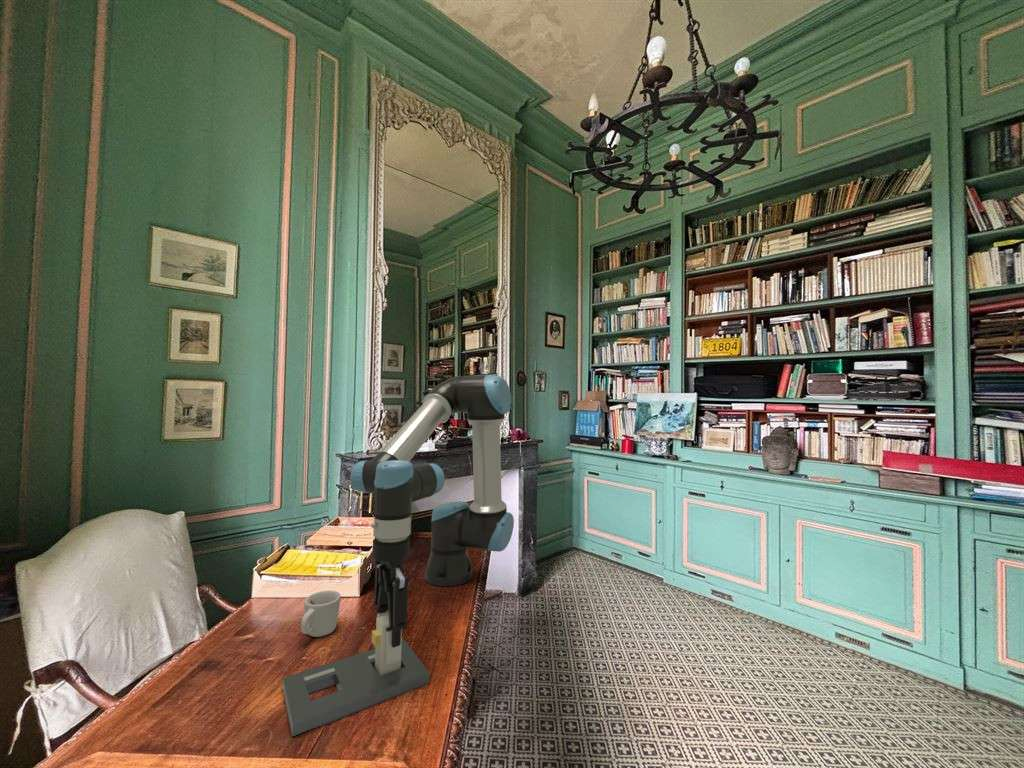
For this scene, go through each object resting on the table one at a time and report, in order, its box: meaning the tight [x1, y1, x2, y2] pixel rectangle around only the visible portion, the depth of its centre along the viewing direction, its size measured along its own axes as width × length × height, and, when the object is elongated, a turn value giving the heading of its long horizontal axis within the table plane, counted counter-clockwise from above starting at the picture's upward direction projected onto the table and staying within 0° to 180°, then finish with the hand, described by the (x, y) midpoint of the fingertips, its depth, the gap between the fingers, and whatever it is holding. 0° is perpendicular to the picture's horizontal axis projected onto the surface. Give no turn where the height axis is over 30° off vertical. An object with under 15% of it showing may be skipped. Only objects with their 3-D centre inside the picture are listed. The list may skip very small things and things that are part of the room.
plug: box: [371, 614, 402, 677], centre depth 83 cm, size 5×4×11 cm
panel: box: [282, 638, 430, 738], centre depth 80 cm, size 24×14×2 cm, turn 125°
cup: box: [300, 590, 342, 638], centre depth 97 cm, size 11×8×8 cm
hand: (388, 652), depth 83 cm, fingers open, 6 cm apart
